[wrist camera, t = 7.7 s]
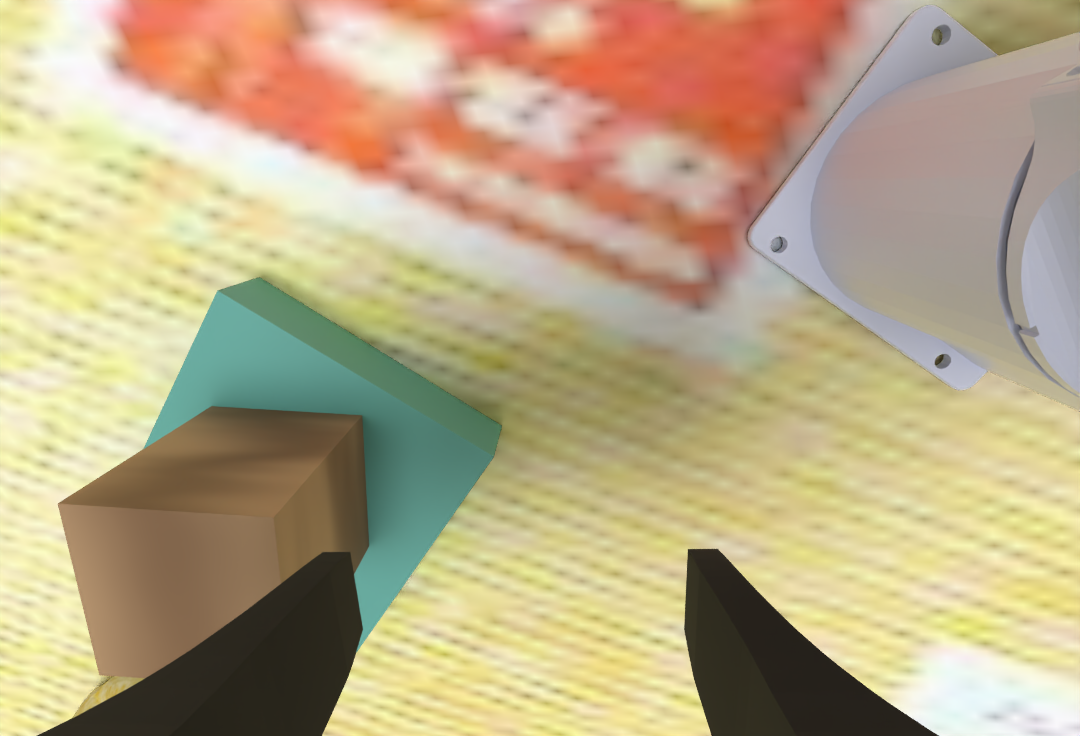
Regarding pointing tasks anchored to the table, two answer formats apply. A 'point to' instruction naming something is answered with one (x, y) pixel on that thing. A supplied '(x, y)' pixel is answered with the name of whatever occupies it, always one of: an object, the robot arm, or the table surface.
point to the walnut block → (210, 527)
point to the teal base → (342, 388)
